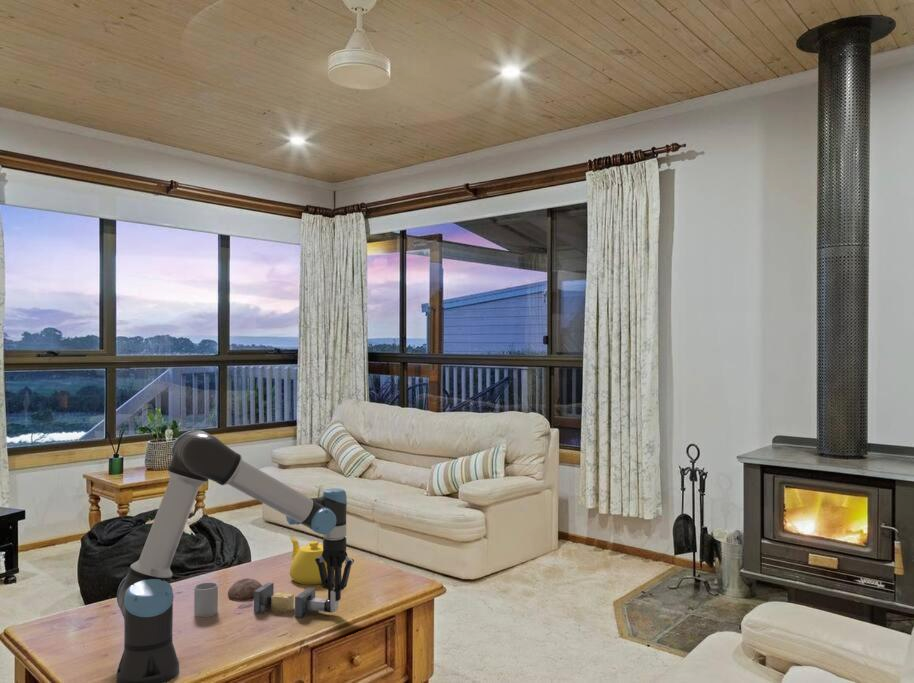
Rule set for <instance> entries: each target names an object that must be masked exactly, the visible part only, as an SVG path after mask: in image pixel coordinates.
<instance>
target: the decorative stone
mask: <svg viewBox="0 0 914 683" xmlns="http://www.w3.org/2000/svg"><path fill="white" fill-rule="evenodd" d="M262 586H263V585H262V584H261V582H260V581H258V580H257V579H255V578H249V577H248V578H247V577H246V578H242V579H239V580H237V581H235V582H234V583H233V584H232V585H231V586H230V587H229V589H228V592H227V597H228V598H229V599H231V600H234V601H249V600H254V591H255V590H257V589H259V588H260V587H262Z"/></svg>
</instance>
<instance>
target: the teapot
mask: <svg viewBox="0 0 914 683" xmlns="http://www.w3.org/2000/svg"><path fill="white" fill-rule="evenodd" d="M290 541H291V543H292V560H291V564H290V568H289V575H290V576H289V577H291V578H290V579H292V580H293V581H294V582H295V583H297V584H299V583H300V585H305V586H307V585H309V586H310V585H312V586H313V584H314V585H322V584H321V583H322V582H321V577H320V573H319V568H318V565H317V563H316V561H315V559H316V558H318V557H319V556H322V553H323V544H319V541H314V540H313V541H310V542H308V543H309V544H308V545H303V546H301V547H300V545H299V542H298V540H297V539H296V538H295V537H290ZM324 563H325V567H326V572H327V577H328V570H327V563H326V562H325V560H324ZM334 577H335V570H334Z"/></svg>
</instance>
